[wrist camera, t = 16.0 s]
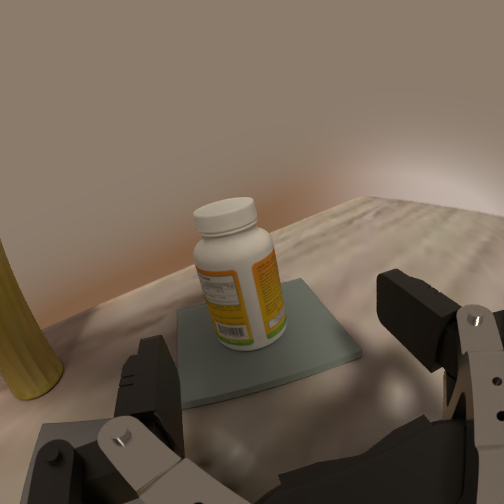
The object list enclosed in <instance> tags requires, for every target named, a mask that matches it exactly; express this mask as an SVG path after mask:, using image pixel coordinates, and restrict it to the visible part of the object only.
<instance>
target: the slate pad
mask: <svg viewBox="0 0 504 504" xmlns="http://www.w3.org/2000/svg"><path fill="white" fill-rule="evenodd" d="M281 289H282V295H283V301H284V306H285V312H286V319H287V326H286V329H285V331H284V333H283V334H282V335H281V337H279V338H278V339H277V340H276V341H275V342H273V343H271V344H270V345H268V346H265V347H263V348H260V349H257V350H252V351H238V350H233V349H230V348H228V347H226V346H224V345H223V344H222V343H221V342H220V341H219V339H218V337H217V334H216V331H215V328H214V325H213V322H212V319H211V316H210V312H209V309H208V306H207V303H205V304H201V305H197V306H193V307H189V308H185V309H181V310H177V368H178V375H179V379H180V387H181V408H182V409H187V408H192V407H197V406H201V405H206V404H210V403H215V402H219V401H223V400H227V399H231V398H235V397H239V396H243V395H247V394H251V393H254V392H258V391H262V390H265V389H269V388H272V387H276V386H279V385H282V384H286V383H289V382H292V381H295V380H298V379H301V378H304V377H307V376H310V375H313V374H316V373H319V372H322V371H325V370H328V369H331V368H333V367H336V366H339V365H342V364H344V363H347V362H350V361H352V360H355V359H357V358H360V357H362V350H361V349H360V347H359V346H358V345H357V344H356V343H355V341H354V340H353V339H352V338H351V337H350V335H349V334H348V333H347V332H346V331H345V329H344V328H343V327H342V326H341V325H340V323H339V322H338V321H337V320H336V319H335V317H334V316H333V315H332V314H331V313H330V311H329V310H328V309H327V308H326V307H325V305H324V304H323V303H322V302H321V301H320V300H319V298H318V297H317V296H316V295H315V294H314V292H313V291H312V290H311V289H310V288H309V287H308V285H307V284H306V283H305V282H304V281H303V280H302V278H299V279H295V280H292V281H288V282H284V283H281Z"/></svg>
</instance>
